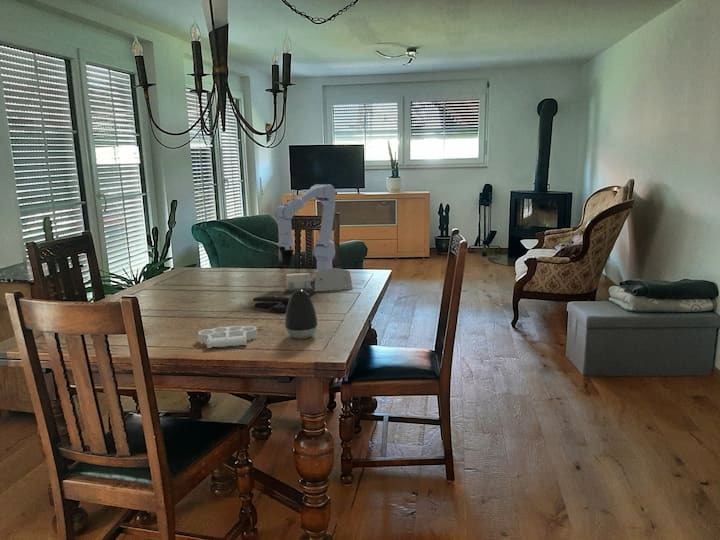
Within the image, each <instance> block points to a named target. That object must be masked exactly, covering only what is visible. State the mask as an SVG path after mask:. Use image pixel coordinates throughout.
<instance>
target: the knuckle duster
mask: <svg viewBox="0 0 720 540" xmlns="http://www.w3.org/2000/svg"><path fill="white" fill-rule="evenodd" d="M257 329H258V328H257V326H253V325H245V326H242V325H231V326H219V327H215V328H209V329H207V328H206V329H201V330H199V331H198V332H197V338H198V342H199V341H200V342H207V344H206V348H207V349H208V348H211V349H213V348H212V347H220V348H228V347H227V346H233V347H240V346H239V345H246V346H247V345H248V341H247V340H248V339H253V338H256V337H257V338H258V330H257ZM257 338H256V339H257ZM253 340H254V339H253ZM225 346H226V347H225Z"/></svg>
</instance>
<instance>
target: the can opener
mask: <svg viewBox="0 0 720 540" xmlns="http://www.w3.org/2000/svg"><path fill="white" fill-rule="evenodd" d="M289 300H290V298H289V297H287V296H285V297H284V296H278V295H272V296H271V295H270V296H269V295H268V296H258V297H254V298H252V301H253V302H256V303H255V304H254V306H253V307H255V306H257V307H256V308H260V307H264V308H266V307H267V308H270V311H271V312H273V311H274V312H273V313H279V312H280V313H283V312H286V310H287V306H288V302H289Z"/></svg>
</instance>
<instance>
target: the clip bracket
mask: <svg viewBox="0 0 720 540" xmlns="http://www.w3.org/2000/svg"><path fill="white" fill-rule="evenodd" d="M310 283H311V280H310V281H305V288H297V289H294V282H289V289H287V286H285V291H286V293H288V294H289V293H293V292H294V291H296V290H304V291H306V292H313V291H314V288H313V287H312V285H311V287H310Z"/></svg>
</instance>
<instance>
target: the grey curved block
mask: <svg viewBox="0 0 720 540" xmlns="http://www.w3.org/2000/svg"><path fill="white" fill-rule="evenodd" d="M351 276H352V275H351V272H350V270H349V269H344V268H338V267H332V268H329V269H324V270H321V271H318V272H317V271H316V272H315V274H314V286H313V287H314V288H313V290H314V291H316V292H325V291H328V290H330V291H343V290H342V289H350V290H353V280H352V277H351Z"/></svg>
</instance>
